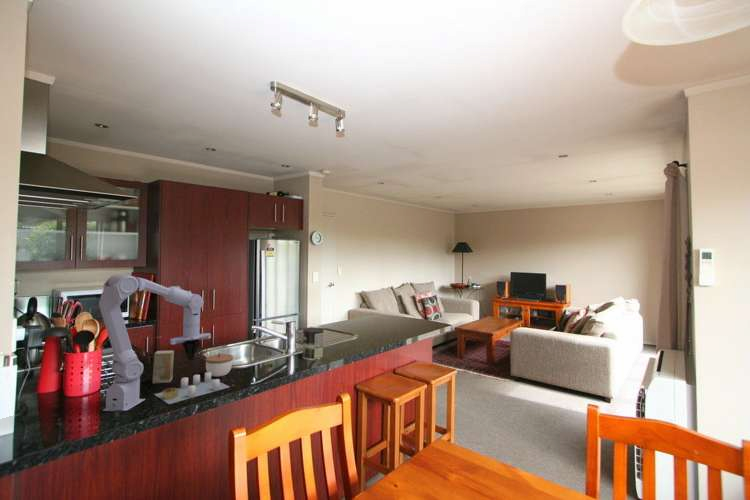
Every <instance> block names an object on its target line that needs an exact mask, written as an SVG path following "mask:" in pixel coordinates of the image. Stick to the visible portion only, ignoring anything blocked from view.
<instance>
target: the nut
mask: <svg viewBox="0 0 750 500" xmlns="http://www.w3.org/2000/svg"><path fill="white" fill-rule="evenodd" d="M177 388H178V387H169V388H168V387H167V388H166V389H164V390H162V391H161V392H162V398H163V399H164V400H169V399H174V398H176V397H178V389H177Z"/></svg>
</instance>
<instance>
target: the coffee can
mask: <svg viewBox="0 0 750 500" xmlns="http://www.w3.org/2000/svg"><path fill="white" fill-rule="evenodd" d="M302 331H303V333H302V359H304V360H306V361H317V360H316V359H318V360H321V359H323V358H322V357H324V354H323V352H324V351H323V350H324V349H323V348H324V329H323V328H321V327H305V328H304V329H303V330H302ZM320 358H321V359H320Z"/></svg>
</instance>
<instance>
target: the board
mask: <svg viewBox="0 0 750 500" xmlns="http://www.w3.org/2000/svg"><path fill="white" fill-rule="evenodd" d="M176 388H177V389H178V397H176V398H174V399H169V400H164V399H163V398H162V391H161V392H157V393H154V396H156V397H157V398H159V399H160V400H162V401H163V402H165V403H166V404H168V405H172V404H174V403H178V402H182V401H186V400H189V399H191V398H192V399H193V398H196V397H199V396H203V395H208V394H211V393H213V392H218V391H220V390H225V389H228V388H230V386H229V385H227V384H225V383H223V382H221V380H220V379H219V378H215V379H214V378H212V376H211V372H207V371H206V372H204V381H201V375H200V374H194V375H193V377H192V384H189V377H188V376H187V377H182V378H181V379H180V387H176Z"/></svg>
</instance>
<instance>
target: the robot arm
mask: <svg viewBox="0 0 750 500" xmlns="http://www.w3.org/2000/svg"><path fill="white" fill-rule="evenodd" d="M136 291H137V292H141V291H146V292H149V293H153V294H157V295H159V296H163V298H164V301H166V302H169V303H173V304H175V305H178V306H180V307H181V306H182V307H183V322H182V324H183V325H182V328H183V330H182V336H177V337H174V338H173V337H172V338H170V339H169V341H170V343H169V344H170V345H176V344H181V345H182V347H183V348H184V351H185V353H186V354H185V355H186V357H187V360H188V361H190V362H191V361H194V359H195V356H196V352H197V350H198V348H199V346H200V345H201V341H200V340H209V339H211V338H212V334H211V333H210V332H207V333H204V332H203V333H200V332H201V330H200V329H201V326H200V325H201V309H202V307H203V305H204V302H205V301H204V300H203V297H202V296H201V295H200V294H197V293H192V291H191V290H184V289H182V288H181V286H178V285H175V286H174V285H172V286H169V287H166V286H164V285H161V284H159V283H156V282H155V281H154V282H153V281H152V280H148V279H146V278H143V277H137V276H133V275H128V274H126V275H124V274H121V273H120V274H119V273H118V274H117V273H116V274H113V275H111V276H110V277H108V279H106V281H105V282H104V283H103V290H102V293H101V296H100V299H99V300H98V301H99V302H98V306H99V309H100V312H101V313H100V314H101V316H102V320H103V323H104V326H105V329H106V333H107V336H108V339H109V343H110V345H111V348H112V349H111V350H112V352H113V355H112V356H111V359H112V366H111V371H112V372H113V374H115V376H114V378H113V379H114V380H113V383H112V384H111V385H110V386H109V387H108V388H107V390H106V392H105V393H106V394H105V408H103V409H102V411H103V412H116V411H124V412H125V411H128V410H131V409H132V408H133V407H135V406H137V405H138V404H140V403H142V402H143V401H145V400H146V398H140V393H141V391H140V390H141V387H140V386H141V375H142V374H143V373H144V370H145V369H144V364H143V363H142V362H141V361H140V360H139V358H138V355H137V354H136V352H135V351H134V350H133V347H132V344H131V340H130V337H129V333H128V331H127V327H126V323H125V319H124V316H123V312H122V309H121V305H122V304H123V303H124V301H125V300H126V299H127V298H129V297H130V296H131V295H133V294H135V293H136Z"/></svg>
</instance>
